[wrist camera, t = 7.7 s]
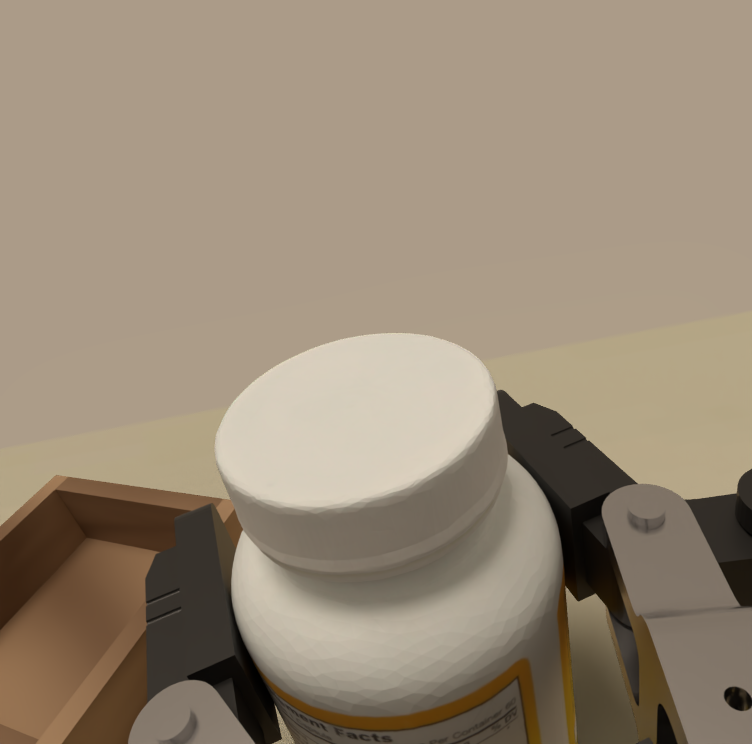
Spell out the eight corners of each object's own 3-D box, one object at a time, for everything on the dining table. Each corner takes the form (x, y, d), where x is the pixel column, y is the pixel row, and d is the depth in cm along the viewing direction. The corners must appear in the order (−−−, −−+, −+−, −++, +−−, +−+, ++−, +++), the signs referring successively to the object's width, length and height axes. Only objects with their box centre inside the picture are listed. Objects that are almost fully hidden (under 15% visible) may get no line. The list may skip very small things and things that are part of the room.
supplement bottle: (496, 996, 10) (370, 646, 5) (283, 795, 14) (85, 466, 9) (625, 721, 14) (618, 341, 9) (425, 612, 17) (338, 292, 12)
